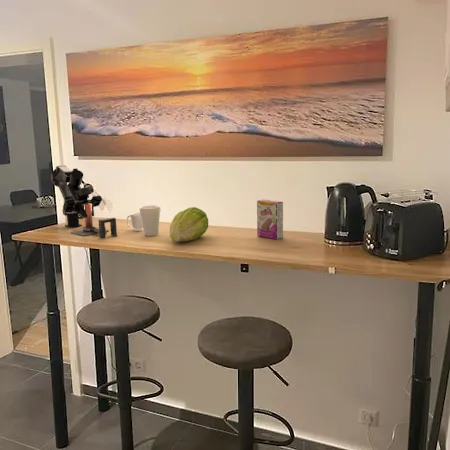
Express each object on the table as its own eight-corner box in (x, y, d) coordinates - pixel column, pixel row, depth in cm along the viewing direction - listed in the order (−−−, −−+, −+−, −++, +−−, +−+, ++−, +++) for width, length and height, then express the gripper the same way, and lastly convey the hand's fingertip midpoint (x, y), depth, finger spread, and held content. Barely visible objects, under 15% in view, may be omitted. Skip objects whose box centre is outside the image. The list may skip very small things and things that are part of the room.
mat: (70, 232, 235) (70, 231, 235) (96, 227, 245) (96, 227, 245) (83, 236, 227) (83, 235, 227) (109, 231, 236) (109, 230, 236)
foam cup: (148, 237, 221) (146, 209, 218) (137, 234, 228) (135, 207, 225) (165, 234, 227) (164, 206, 224) (154, 231, 234) (153, 204, 231)
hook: (80, 229, 236) (79, 203, 233) (91, 227, 240) (90, 201, 237) (99, 237, 224) (98, 209, 221) (110, 234, 228) (109, 207, 225)
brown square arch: (99, 237, 222) (98, 219, 221) (114, 235, 228) (112, 217, 226) (102, 238, 221) (101, 220, 219) (116, 235, 226) (115, 218, 224)
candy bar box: (256, 236, 218) (256, 200, 214) (263, 234, 221) (263, 199, 218) (276, 240, 210) (276, 202, 207) (283, 238, 214) (283, 201, 210)
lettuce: (152, 230, 205) (178, 214, 198) (178, 212, 226) (202, 197, 219) (170, 258, 207) (196, 244, 199) (194, 238, 228) (218, 224, 221)
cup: (140, 232, 233) (139, 215, 231) (123, 230, 237) (122, 214, 235) (148, 229, 239) (147, 213, 237) (131, 227, 243) (130, 212, 241)
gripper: (63, 183, 227) (77, 208, 222) (98, 179, 240) (112, 203, 235) (57, 198, 234) (70, 223, 229) (91, 193, 247) (105, 217, 242)
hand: (90, 216), depth 233 cm, fingers closed on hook, 3 cm apart
